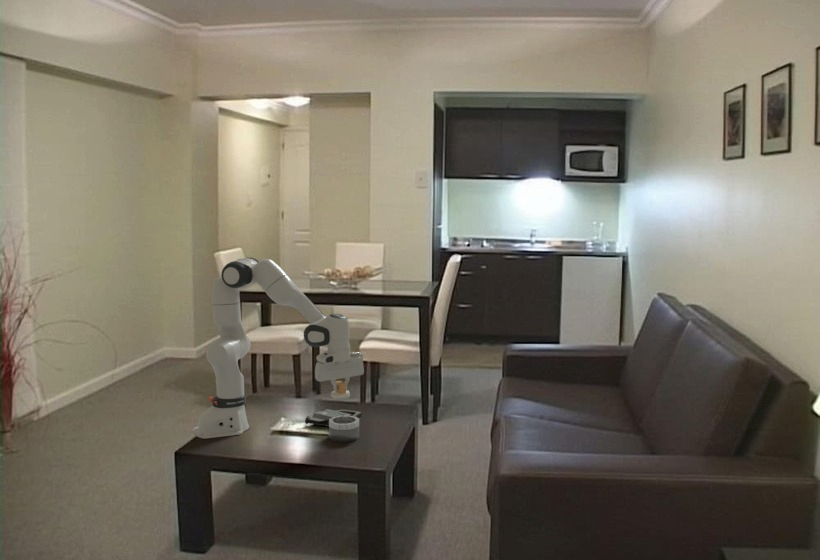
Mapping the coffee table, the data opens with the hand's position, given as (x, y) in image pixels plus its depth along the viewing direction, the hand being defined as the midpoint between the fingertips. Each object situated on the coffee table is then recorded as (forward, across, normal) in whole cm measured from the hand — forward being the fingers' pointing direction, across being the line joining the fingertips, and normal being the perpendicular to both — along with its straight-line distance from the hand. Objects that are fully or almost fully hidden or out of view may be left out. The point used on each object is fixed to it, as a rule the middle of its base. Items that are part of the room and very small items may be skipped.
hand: (340, 388), depth 299 cm
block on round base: (+3, 0, 0) cm, 3 cm away
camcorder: (+20, -6, -17) cm, 27 cm away
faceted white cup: (+20, -1, 0) cm, 20 cm away
